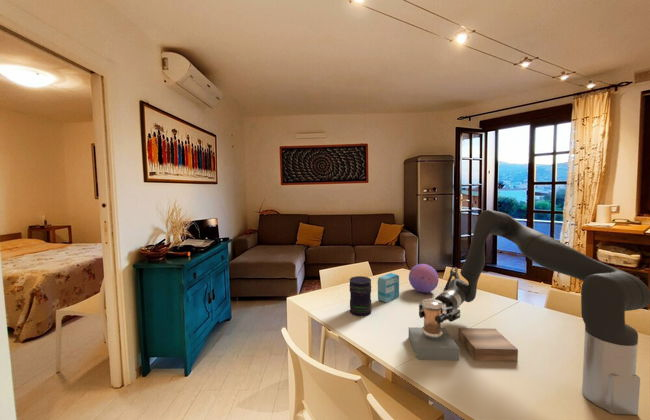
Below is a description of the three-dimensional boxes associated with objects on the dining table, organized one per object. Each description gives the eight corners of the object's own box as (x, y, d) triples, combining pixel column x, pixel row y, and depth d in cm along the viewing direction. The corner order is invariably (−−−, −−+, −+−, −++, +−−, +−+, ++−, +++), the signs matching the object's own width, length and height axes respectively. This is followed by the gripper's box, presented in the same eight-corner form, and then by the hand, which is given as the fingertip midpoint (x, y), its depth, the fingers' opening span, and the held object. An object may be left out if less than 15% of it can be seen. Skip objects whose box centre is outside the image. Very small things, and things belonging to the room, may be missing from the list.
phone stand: (443, 290, 148) (444, 268, 147) (445, 286, 153) (445, 265, 152) (462, 293, 143) (462, 270, 143) (463, 289, 148) (463, 268, 148)
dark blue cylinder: (346, 309, 127) (345, 277, 126) (364, 305, 131) (364, 275, 130) (356, 318, 118) (355, 284, 117) (375, 314, 121) (375, 281, 120)
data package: (385, 303, 132) (384, 279, 132) (377, 300, 136) (377, 277, 135) (399, 296, 140) (399, 274, 139) (391, 294, 144) (391, 272, 143)
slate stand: (459, 360, 88) (459, 348, 88) (417, 359, 89) (417, 347, 88) (444, 338, 101) (444, 327, 100) (408, 337, 102) (408, 327, 101)
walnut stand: (517, 361, 87) (518, 349, 86) (475, 360, 87) (475, 348, 87) (495, 339, 99) (495, 328, 99) (458, 338, 100) (458, 328, 100)
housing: (445, 338, 91) (445, 306, 90) (425, 338, 91) (425, 306, 91) (438, 328, 97) (438, 298, 97) (419, 328, 98) (419, 298, 97)
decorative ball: (411, 296, 140) (411, 268, 139) (406, 286, 155) (406, 260, 154) (441, 297, 138) (442, 268, 137) (434, 287, 153) (434, 260, 152)
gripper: (429, 288, 109) (409, 301, 97) (468, 297, 99) (451, 313, 87) (429, 306, 109) (409, 321, 97) (467, 317, 99) (451, 336, 87)
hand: (429, 317), depth 92 cm, fingers closed on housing, 5 cm apart
